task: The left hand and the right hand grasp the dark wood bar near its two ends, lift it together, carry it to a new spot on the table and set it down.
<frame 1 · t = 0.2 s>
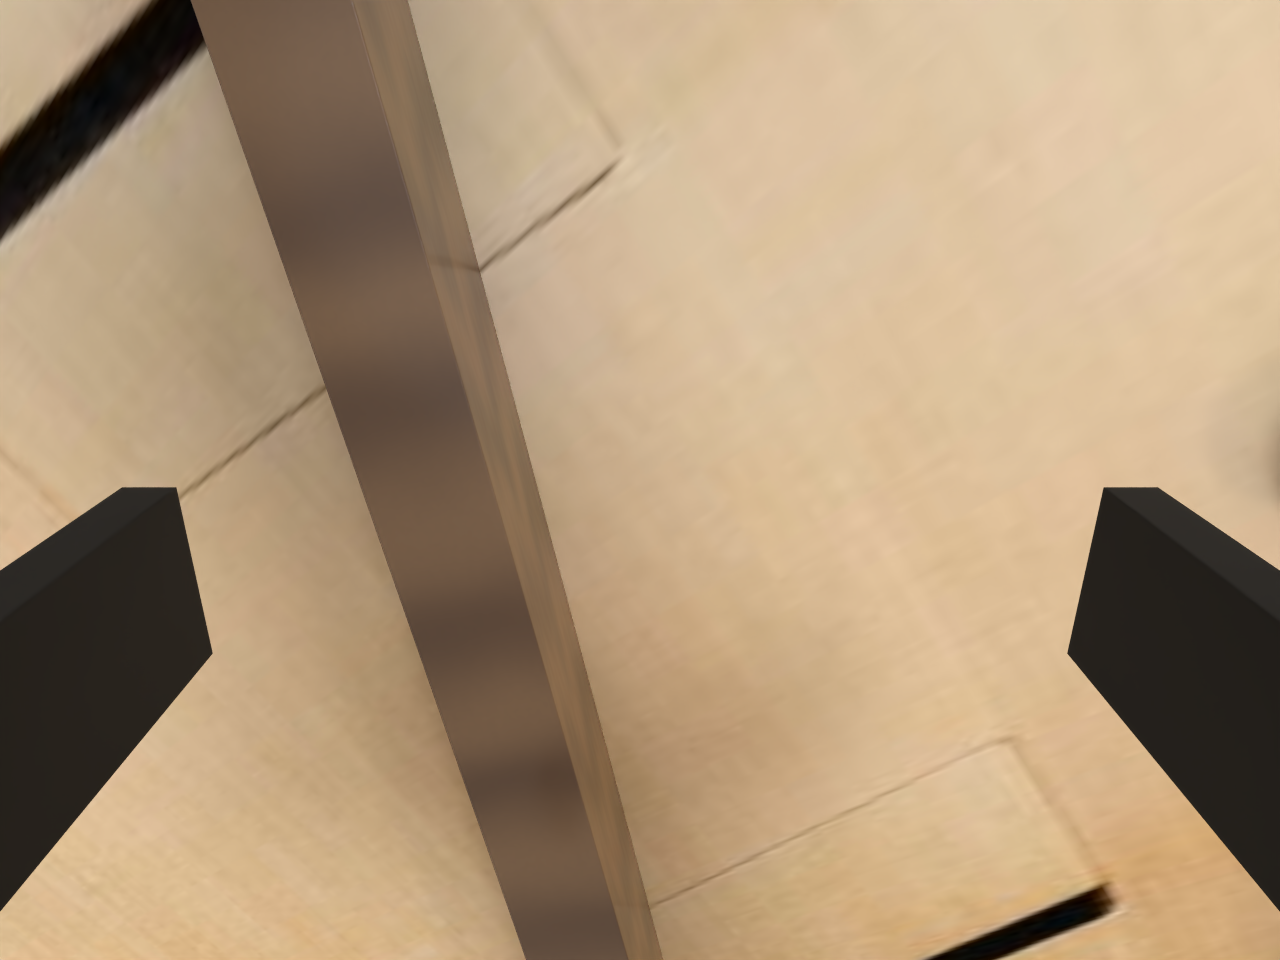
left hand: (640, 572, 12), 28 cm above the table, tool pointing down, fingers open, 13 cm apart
bar: (502, 546, 43), on the table
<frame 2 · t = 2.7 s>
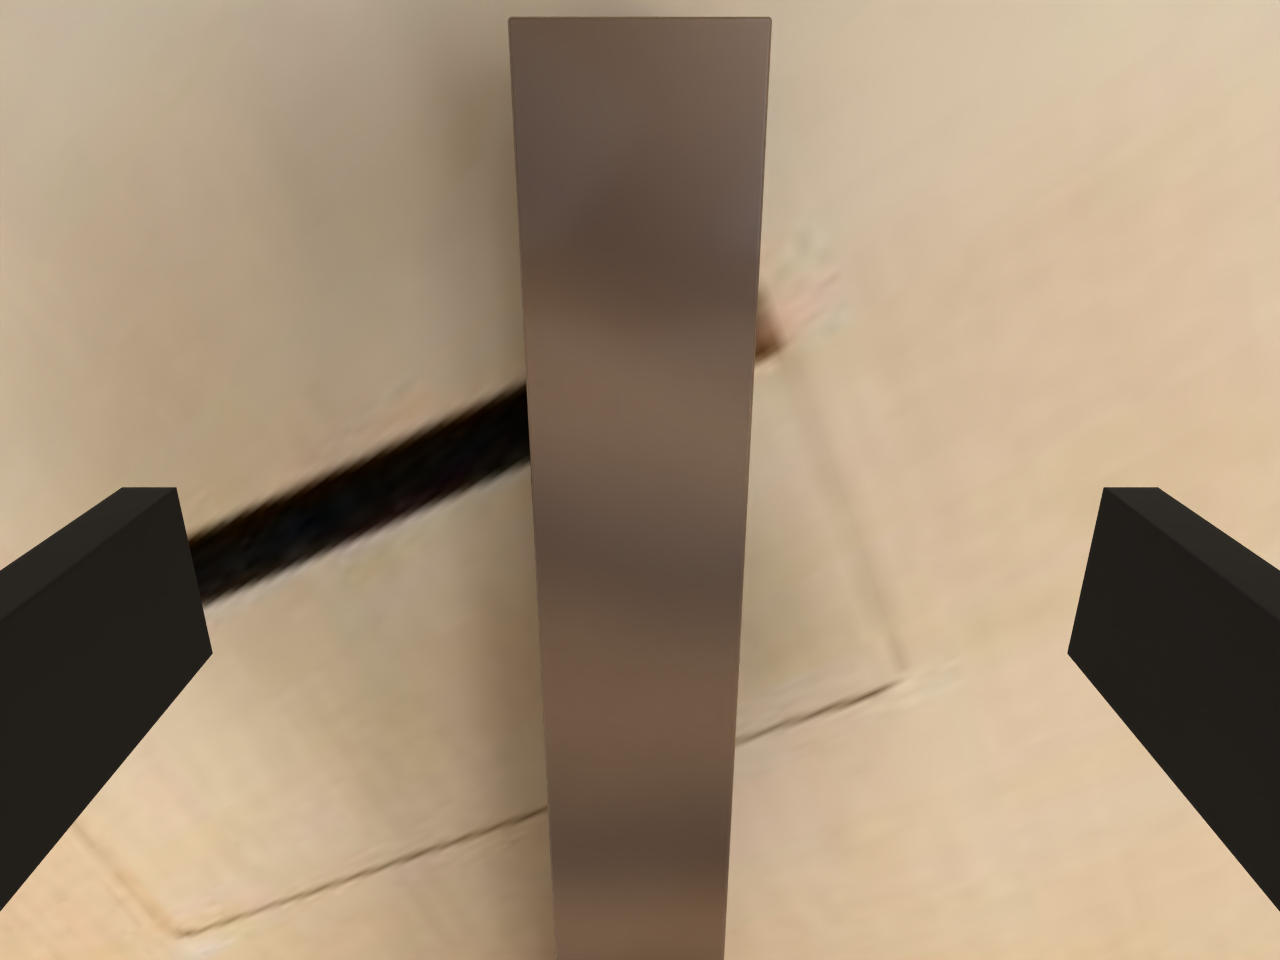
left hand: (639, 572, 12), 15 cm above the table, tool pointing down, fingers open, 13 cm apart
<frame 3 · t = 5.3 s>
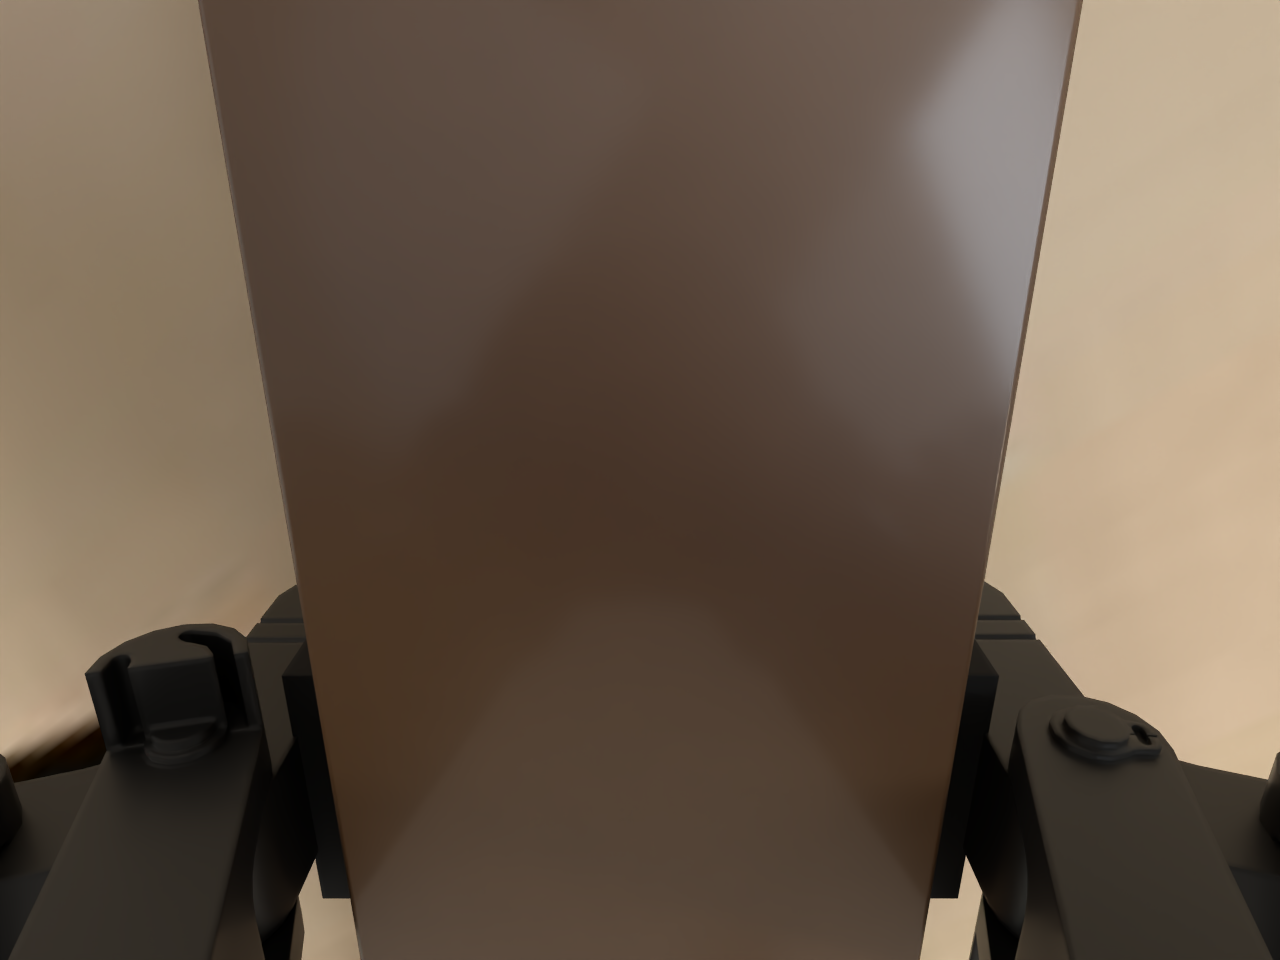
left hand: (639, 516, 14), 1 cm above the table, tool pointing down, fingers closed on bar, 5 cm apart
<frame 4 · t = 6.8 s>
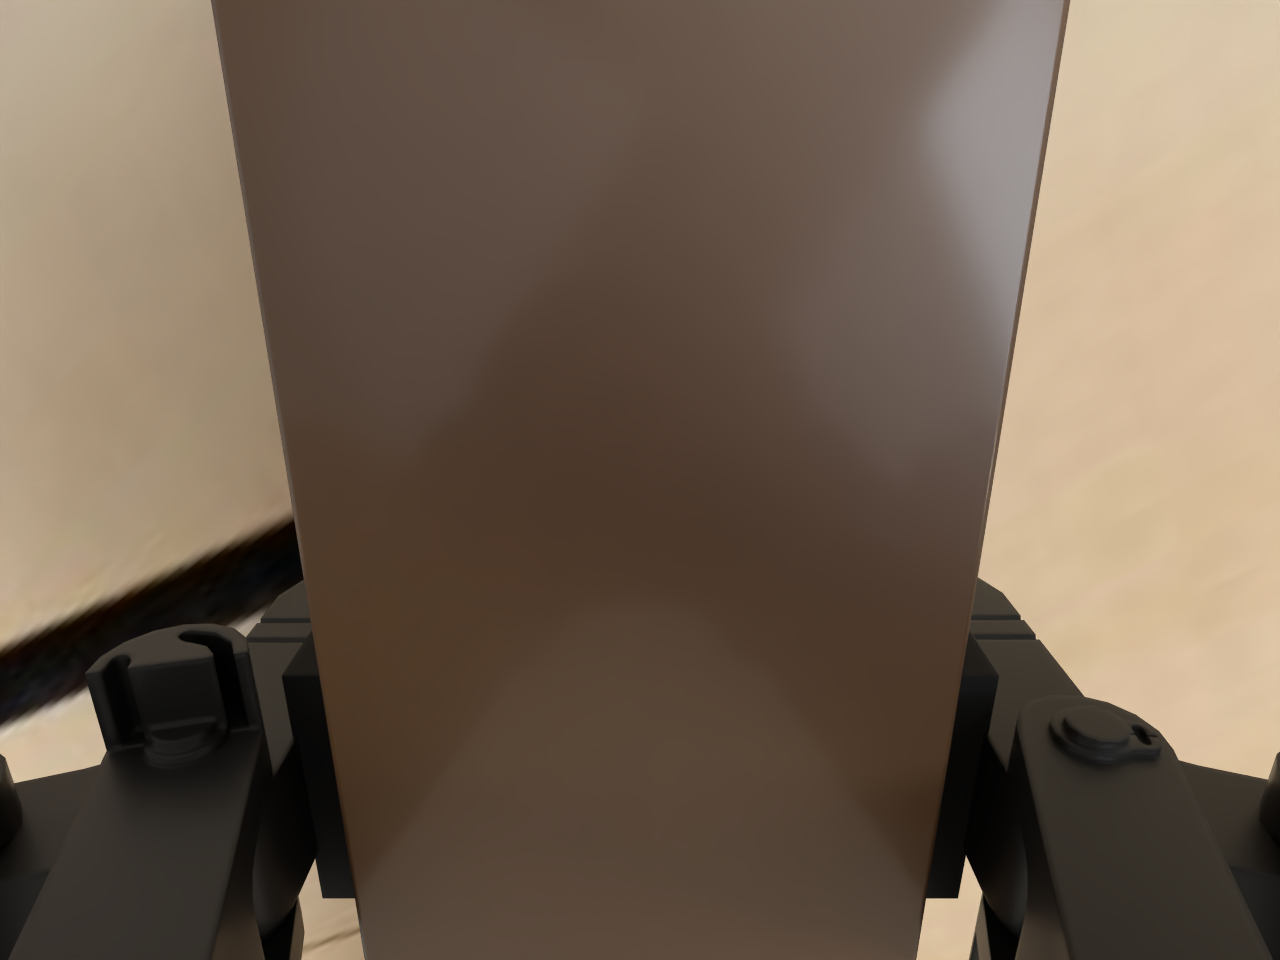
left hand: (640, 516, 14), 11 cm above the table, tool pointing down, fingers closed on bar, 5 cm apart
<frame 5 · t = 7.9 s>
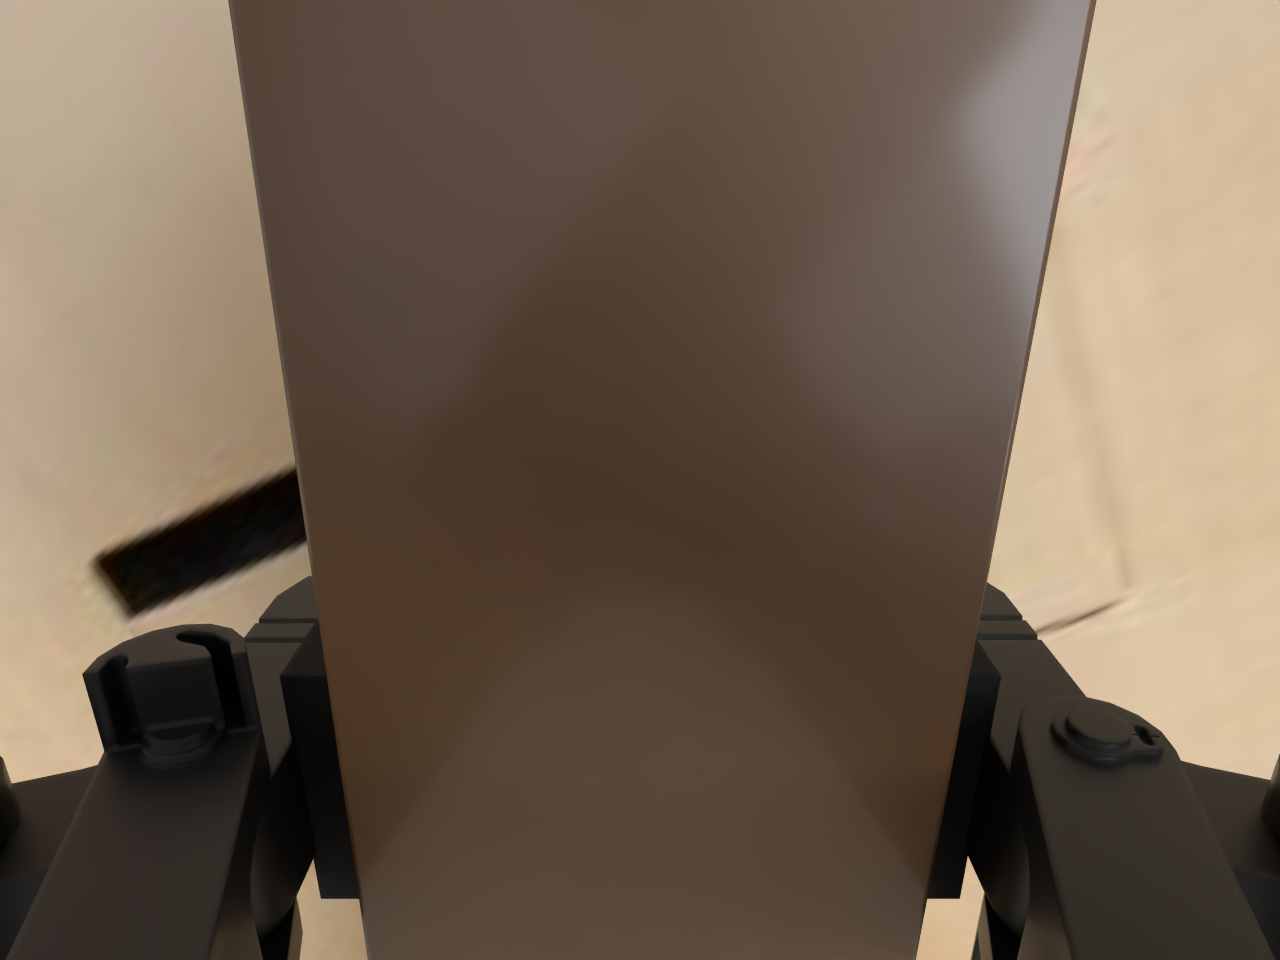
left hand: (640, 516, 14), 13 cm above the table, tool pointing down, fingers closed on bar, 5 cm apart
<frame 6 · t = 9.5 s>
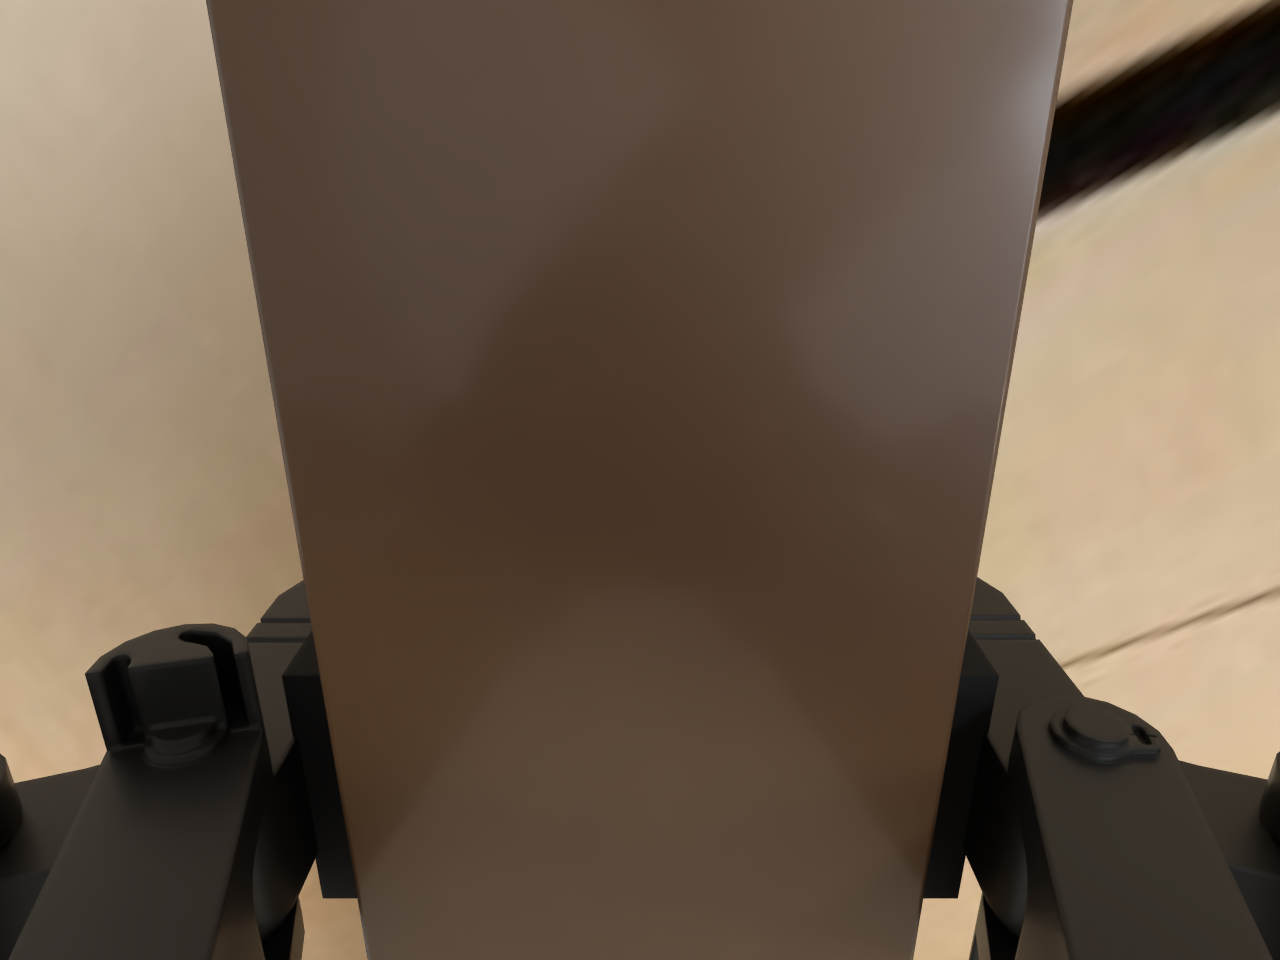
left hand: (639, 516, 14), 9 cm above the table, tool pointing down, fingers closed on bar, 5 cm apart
when the left hand's fingers open (2 cm above the table, at t = 10.6 s): bar drops 1 cm, on the table.
when the right hand's fingers open (5 cm above the table, at t = 10.8 s): bar stays where it is, on the table.
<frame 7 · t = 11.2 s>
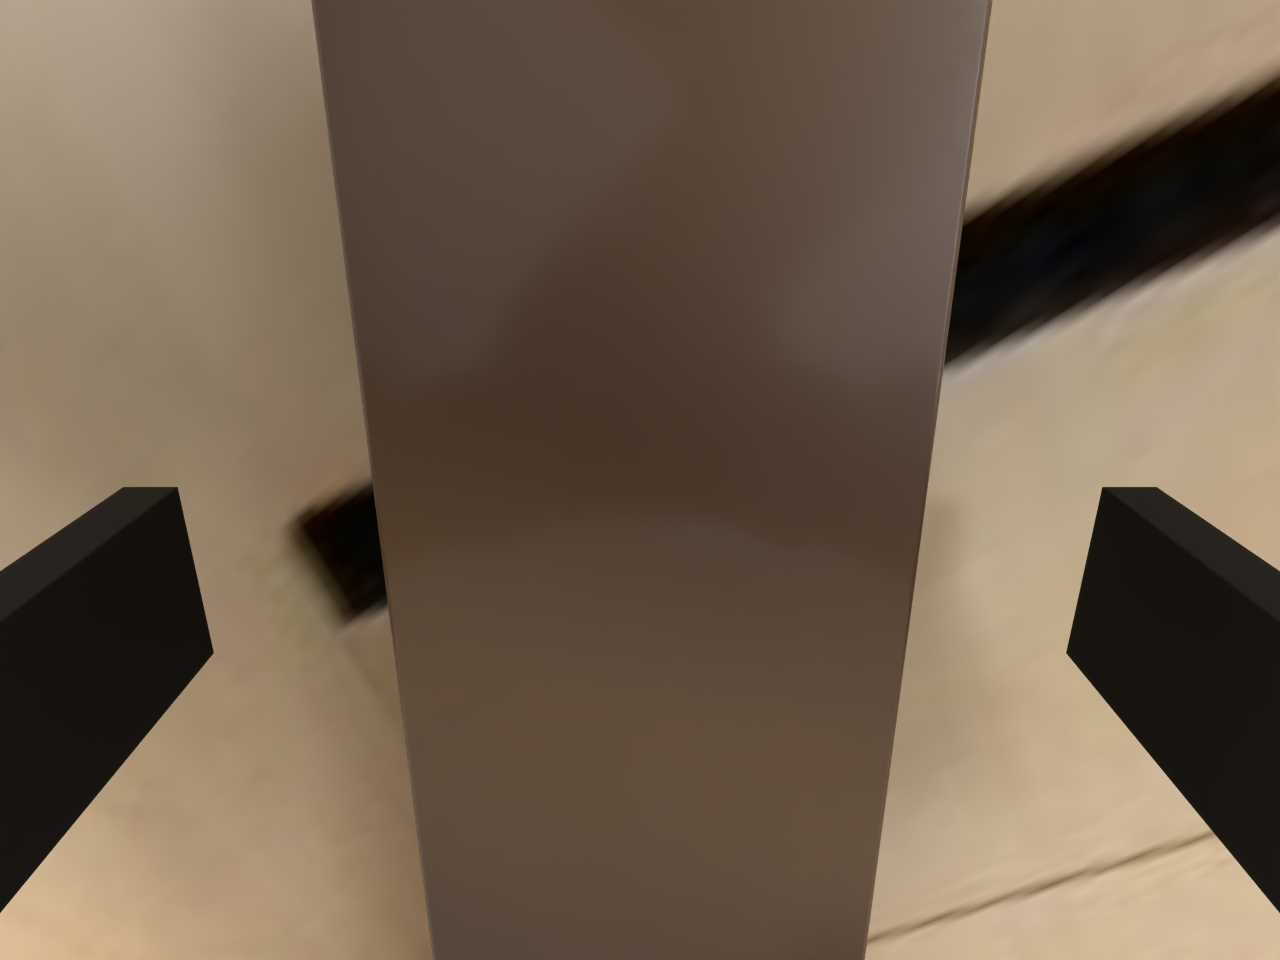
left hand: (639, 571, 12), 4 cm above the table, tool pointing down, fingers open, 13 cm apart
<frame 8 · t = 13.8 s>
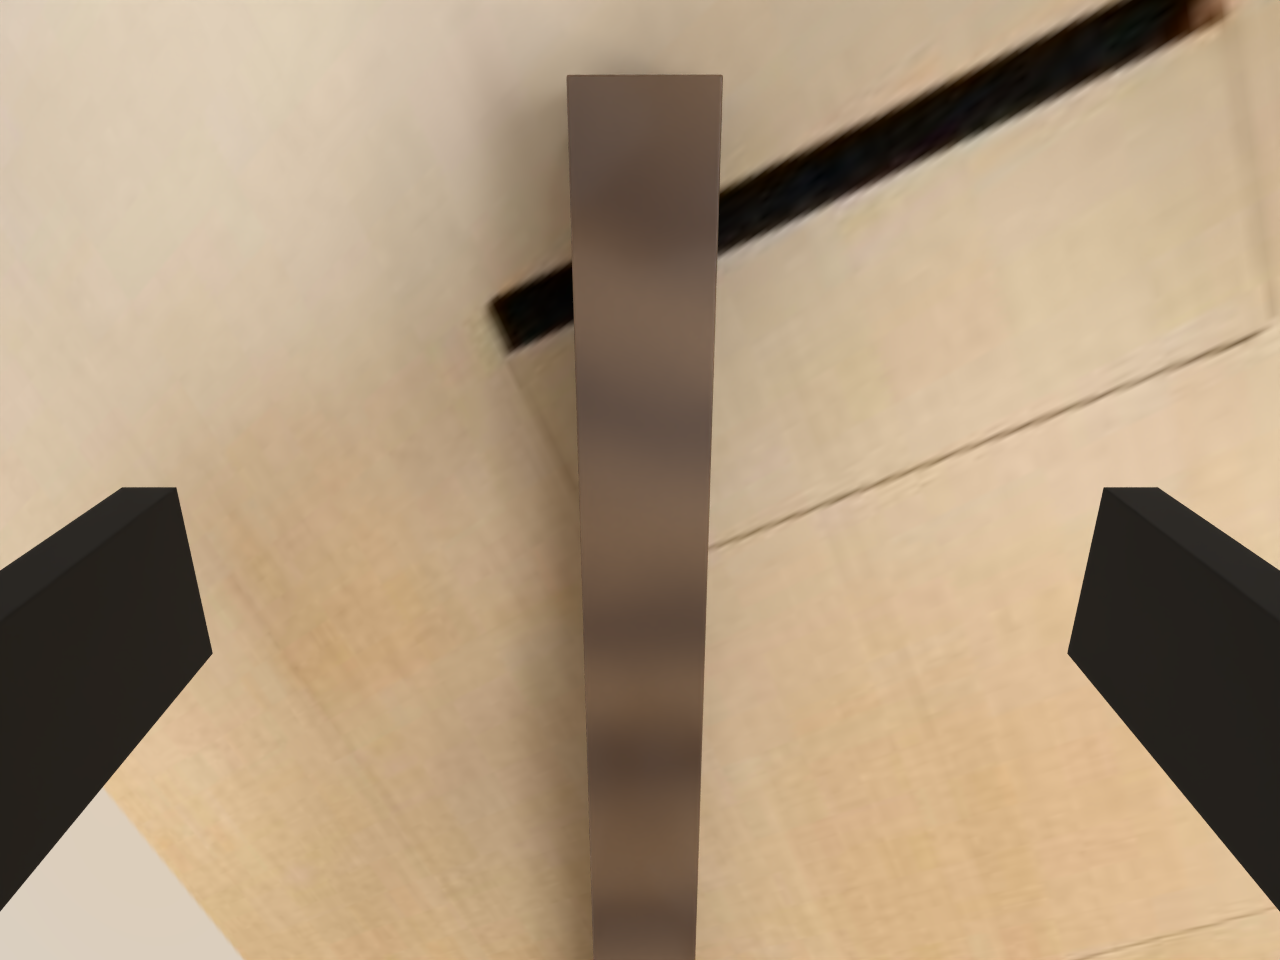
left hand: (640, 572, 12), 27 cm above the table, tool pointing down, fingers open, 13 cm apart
bar: (643, 806, 49), on the table
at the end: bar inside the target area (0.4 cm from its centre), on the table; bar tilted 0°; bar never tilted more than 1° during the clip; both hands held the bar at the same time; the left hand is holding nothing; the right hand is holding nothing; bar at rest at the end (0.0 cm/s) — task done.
